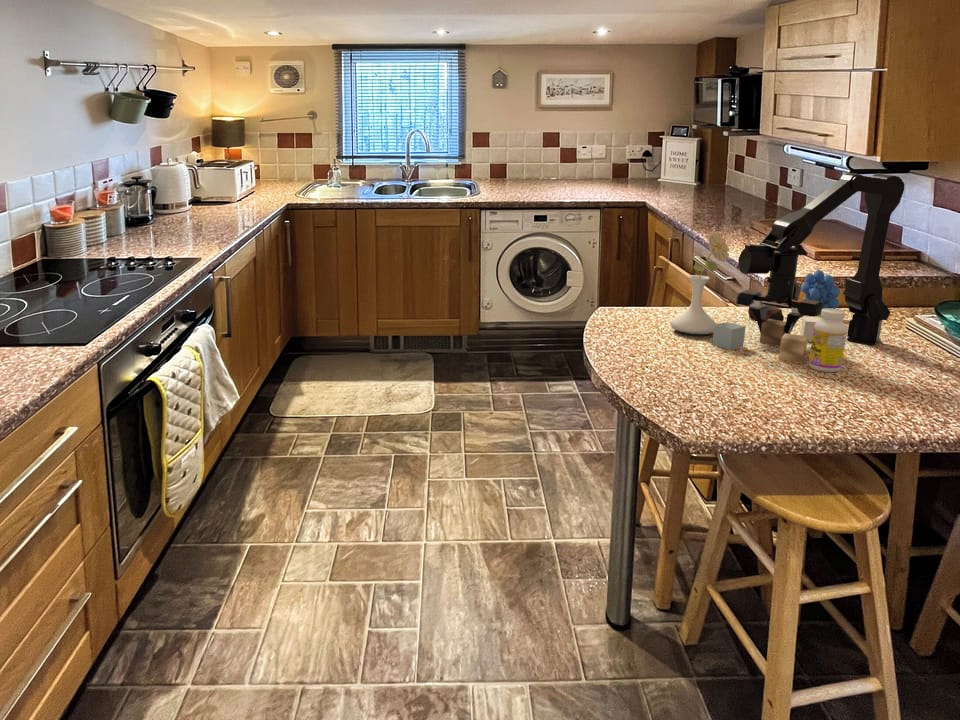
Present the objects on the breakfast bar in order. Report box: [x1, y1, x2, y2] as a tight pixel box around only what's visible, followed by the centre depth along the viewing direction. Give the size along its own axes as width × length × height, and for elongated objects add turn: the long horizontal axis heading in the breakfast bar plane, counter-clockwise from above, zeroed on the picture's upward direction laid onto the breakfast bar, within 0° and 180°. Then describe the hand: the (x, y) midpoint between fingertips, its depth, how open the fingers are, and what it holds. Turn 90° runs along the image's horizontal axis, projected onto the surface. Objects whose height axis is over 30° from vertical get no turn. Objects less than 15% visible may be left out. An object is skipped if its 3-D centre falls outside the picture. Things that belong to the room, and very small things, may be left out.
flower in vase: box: [669, 229, 730, 335], centre depth 213 cm, size 13×11×25 cm
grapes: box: [801, 269, 841, 309], centre depth 239 cm, size 12×7×12 cm, turn 38°
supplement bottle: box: [808, 308, 848, 373], centre depth 188 cm, size 7×7×13 cm
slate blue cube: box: [711, 321, 746, 351], centre depth 205 cm, size 5×5×5 cm
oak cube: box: [778, 333, 809, 364], centre depth 196 cm, size 5×5×5 cm
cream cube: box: [799, 316, 822, 343], centre depth 213 cm, size 5×5×5 cm
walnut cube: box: [759, 319, 786, 347], centre depth 209 cm, size 5×5×5 cm
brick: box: [747, 304, 785, 322], centre depth 229 cm, size 11×4×5 cm, turn 15°
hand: (774, 338), depth 209 cm, fingers closed on walnut cube, 5 cm apart
